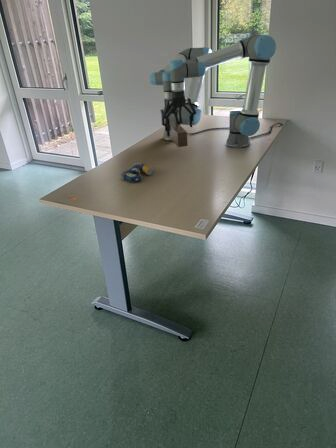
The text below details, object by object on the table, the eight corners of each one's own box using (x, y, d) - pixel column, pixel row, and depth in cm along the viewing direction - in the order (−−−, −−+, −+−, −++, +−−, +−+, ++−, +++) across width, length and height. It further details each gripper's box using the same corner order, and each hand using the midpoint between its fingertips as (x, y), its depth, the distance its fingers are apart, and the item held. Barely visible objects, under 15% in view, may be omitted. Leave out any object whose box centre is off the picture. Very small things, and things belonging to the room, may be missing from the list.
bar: (167, 134, 223) (166, 121, 219) (175, 133, 224) (174, 120, 220) (178, 147, 200) (177, 133, 195) (187, 145, 201) (186, 131, 196)
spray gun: (158, 169, 197) (136, 167, 203) (157, 162, 194) (135, 160, 201) (140, 184, 181) (118, 182, 188) (139, 177, 179) (116, 175, 185)
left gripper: (156, 101, 203) (160, 138, 215) (186, 97, 206) (188, 134, 219) (154, 99, 210) (157, 135, 222) (182, 95, 213) (184, 131, 225)
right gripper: (157, 94, 182) (160, 132, 193) (201, 88, 186) (202, 126, 197) (154, 91, 188) (158, 129, 199) (197, 86, 193) (198, 123, 204)
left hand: (172, 134), depth 220 cm, fingers closed on bar, 6 cm apart
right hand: (180, 128), depth 198 cm, fingers open, 13 cm apart
